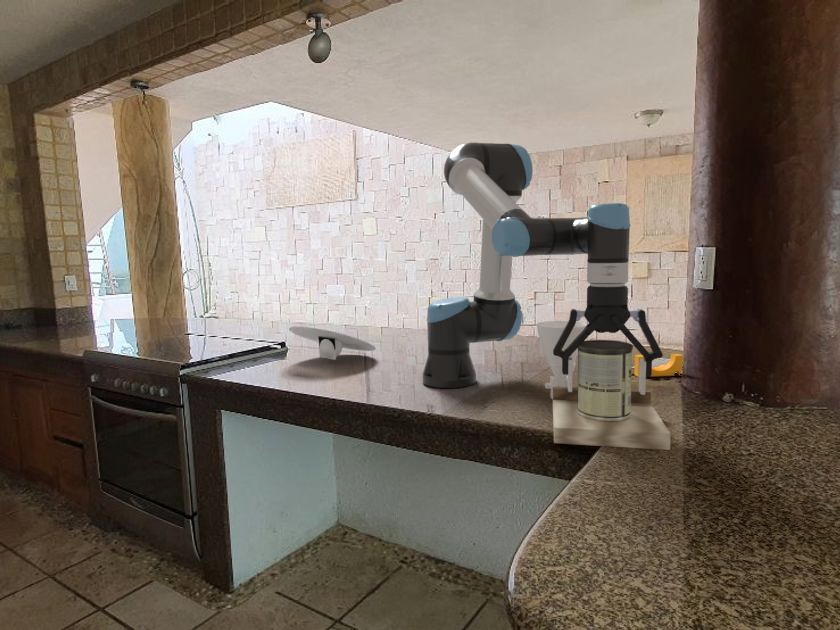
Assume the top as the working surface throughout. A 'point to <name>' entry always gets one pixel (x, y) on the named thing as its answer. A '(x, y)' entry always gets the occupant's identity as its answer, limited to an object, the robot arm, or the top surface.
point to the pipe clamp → (663, 366)
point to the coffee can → (604, 380)
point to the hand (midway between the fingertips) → (605, 391)
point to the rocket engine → (549, 339)
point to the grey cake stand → (331, 341)
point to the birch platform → (608, 424)
